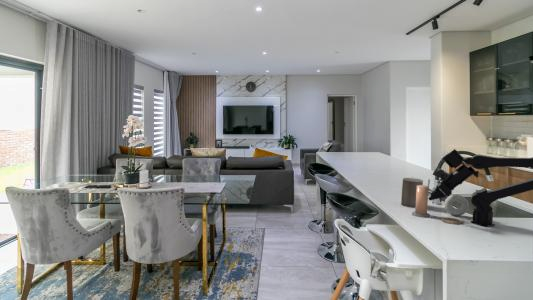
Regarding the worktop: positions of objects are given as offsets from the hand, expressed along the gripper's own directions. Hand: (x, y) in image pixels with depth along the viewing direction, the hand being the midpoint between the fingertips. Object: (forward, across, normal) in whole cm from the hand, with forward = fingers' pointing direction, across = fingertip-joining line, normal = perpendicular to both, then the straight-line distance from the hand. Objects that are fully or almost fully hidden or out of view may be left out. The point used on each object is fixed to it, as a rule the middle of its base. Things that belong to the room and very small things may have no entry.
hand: (430, 197), depth 150 cm
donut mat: (0, +4, +13) cm, 13 cm away
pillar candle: (+13, -16, -1) cm, 21 cm away
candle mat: (+9, 0, +4) cm, 9 cm away
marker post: (+8, 0, +3) cm, 9 cm away
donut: (-1, -8, +14) cm, 16 cm away
